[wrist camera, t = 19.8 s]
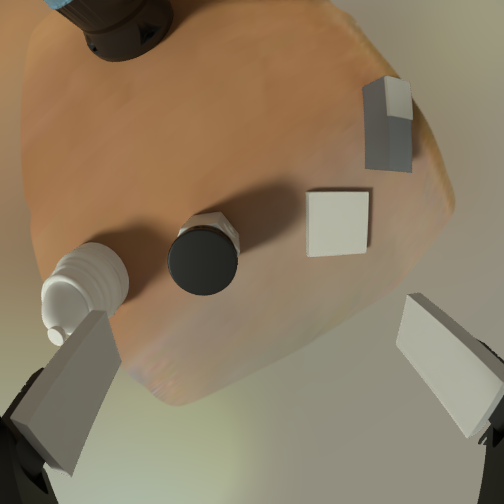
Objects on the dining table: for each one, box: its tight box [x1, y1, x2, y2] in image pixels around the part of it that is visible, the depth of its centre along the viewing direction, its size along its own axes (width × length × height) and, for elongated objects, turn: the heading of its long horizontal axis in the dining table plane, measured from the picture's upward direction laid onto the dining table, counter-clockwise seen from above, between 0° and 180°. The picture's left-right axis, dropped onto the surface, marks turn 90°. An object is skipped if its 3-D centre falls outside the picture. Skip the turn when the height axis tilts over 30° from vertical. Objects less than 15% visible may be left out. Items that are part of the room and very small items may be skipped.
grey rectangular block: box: [362, 76, 413, 173], centre depth 35 cm, size 14×4×8 cm, turn 1°
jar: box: [168, 212, 240, 296], centre depth 37 cm, size 9×8×12 cm
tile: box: [306, 191, 369, 257], centre depth 43 cm, size 2×10×10 cm
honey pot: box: [41, 242, 129, 346], centre depth 35 cm, size 13×13×18 cm
